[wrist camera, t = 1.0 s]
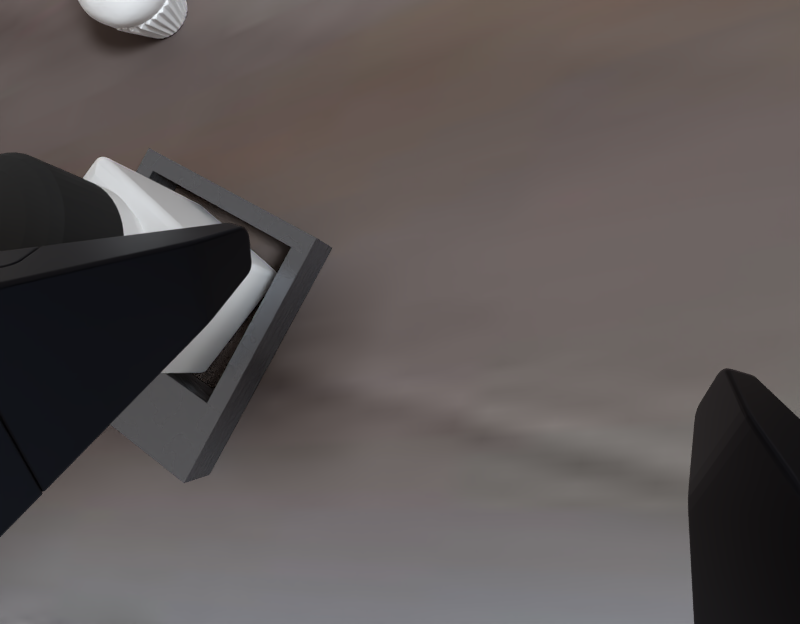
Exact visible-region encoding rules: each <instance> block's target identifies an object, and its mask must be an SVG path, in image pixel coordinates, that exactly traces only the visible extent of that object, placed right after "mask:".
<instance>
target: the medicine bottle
mask: <svg viewBox="0 0 800 624" xmlns="http://www.w3.org/2000/svg"><path fill="white" fill-rule="evenodd" d="M220 223H221V222H220V221H219V220H217V219H216V218H215V217H214V216H213V215H212V214H211V213H210V212H208V211H207V210H206V209H205V208H204V207H203V206H202V205H200V204H198V203H196V202H194V201H192V200H190V199H188V198H186V197H184V196H182V195H180V194H178V193H176V192H174V191H172V190H170V189H168V188H166V187H164V186H162V185H160V184H159V183H157V182H155V181H153V180H151V179H149V178H147V177H145V176H143V175H141V174H139V173H137V172H135V171H133V170H131V169H129V168H127V167H125V166H123V165H121V164H119V163H117V162H115V161H113V160H111V159H109V158H106V157H99V158H98V159H97V160H96V161H95V162H94V163H93V165H92V166H91V168H90V169H89V170H88V172H87V173H86V175H85V176H84V177H83V178H80V177H78V176H76V175H73V174H71V173H69V172H66V171H64V170H62V169H60V168H57V167H55V166H53V165H50V164H48V163H46V162H43V161H41V160H39V159H36V158H34V157H31V156H29V155H26V154H22V153H4V154H0V251H7V250H15V249H23V248H31V247H39V248H40V247H42V246H47V245H55V244H63V243H71V242H79V241H87V240H95V239H102V238H110V237H118V236H126V235H134V234H142V233H150V232H157V231H165V230H173V229H181V228H189V227H197V226H205V225H212V224H220ZM250 250H251V249H250ZM251 259H252V266H251V270H250V272H249V274H248V275H247V277H246V278H245V279H244V280H243V282H242V283H241V284H240V285H239V287H238V288H237V289H236V290H235V292H234V293H233V294H232V295H231V297H230V298H229V299H228V300H227V302H226V303H225V304H224V305H223V307H222V308H221V309H220V310H219V312H218V313H217V314H216V315H215V317H214V318H213V319H212V320H211V321H210V323H209V324H208V325H207V326H206V327H205V328H204V329H203V330H202V331H201V332H200V333H199V334H198V335H197V336H196V337H195V338H194V339H193V340H192V341H191V342H190V344H189V345H188V346H187V347H186V348H185V349H184V350H183V351H182V352H181V353H180V354H179V355H178V356H177V357H176V358H175V359H174V360H173V361H172V362H171V363H170V364H169V365H168V366H167V367H166V368H165V369H164V370H163V371H162V372H161V373H203V372H205V371H206V370H207V369H208V368H209V366H210V365H211V364H212V363H213V361H214V360H215V359H216V357H217V356H218V355H219V353H220V352H221V351H222V350H223V348H224V347H225V346H226V344H227V343H228V342H229V340H230V339H231V338H232V337H233V335H234V334H235V333H236V331H237V330H238V329H239V327H240V326H241V325H242V324H243V322H244V321H245V320H246V318H247V317H248V316H249V314H250V313H251V312H252V311H253V309H254V308H255V307H256V305H257V304H258V303H259V301H260V300H261V299H262V298H263V296H264V295H265V294H266V292H267V291H268V289H269V288H270V286H271V284H272V282H273V280H274V278H275V276H276V275H277V273H276V271H275V270H274V269H273V268H272V267H271V266H269V265H268V264H267V263H266V262H265V261H264V260H263V259H261V258H260V257H259V256H258V255H257V254H256V253H255V252H254V251H252V250H251Z"/></svg>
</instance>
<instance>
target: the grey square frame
mask: <svg viewBox="0 0 800 624" xmlns="http://www.w3.org/2000/svg"><path fill="white" fill-rule="evenodd" d="M137 173H139V174H141V175H143V176H145V177H147V178H149V179H151V180H153V181H155V182H157V183H159V184H160V185H162V186H164V187H166V188H168V189H170V190H172V191H174V190H175V188H176V186H177V184H178V185H180V186H182V187H184V188H185V189H187V190H189V191H191V192H193V193H194V194H196V195H198V196H200V197H202V198H203V199H205V200H207V201H209V202H211V203H212V204H214V205H216V206H218V207H220V208H221V209H223V210H225V211H227V212H229V213H231V214H232V215H234V216H236V217H238V218H240V219H241V220H243V221H245V222H247V223H249V224H250V225H252V226H254V227H256V228H258V229H259V230H261V231H263V232H265V233H267V234H268V235H270V236H272V237H274V238H276V239H277V240H279V241H281V242H283V243H285V244H286V245H288V246H290V247H291V249H290V250H289V252H288V254H287V256H286V258H285V260H284V262H283V263H282V265H281V267H280V269H279V271H278V273H277V275H276V276H275V278H274V280H273V282H272V284H271V286H270V288H269V289H268V291H267V293H266V295H265V297H264V299H263V300H262V302H261V304H260V306H259V308H258V310H257V312H256V313H255V315H254V317H253V319H252V321H251V323H250V325H249V326H248V328H247V330H246V332H245V334H244V336H243V337H242V339H241V341H240V343H239V345H238V347H237V349H236V350H235V352H234V354H233V356H232V358H231V360H230V362H229V363H228V365H227V367H226V369H225V371H224V373H223V375H222V376H221V378H220V380H219V382H218V384H217V386H216V387H215V389H213V388H211V387H210V386H208V385H207V384H205V383H204V382H203V381H201V380H200V379H198V378H197V377H195V376H194V375H193V374H191V373H160V374H159V375H158V376H157V377H156V378H155V379H154V380H153V381H152V382H151V383H150V384H149V385H148V386H147V387H146V388H145V389H144V390H143V391H142V392H141V393H140V394H139V395H138V396H137V398H136V399H135V400H134V401H133V402H132V403H131V404H130V405H129V406H128V407H127V408H126V409H125V410H124V411H123V412H122V413H121V414H120V415H119V416H118V417H117V418H116V419H115V420H114V421H113V422H112V423H111V424H110V425H111V426H113V427H114V428H115V429H116V430H118V431H119V432H120V433H122V434H123V435H124V436H125V437H127V438H128V439H129V440H130V441H132V442H133V443H134V444H135V445H137V446H138V447H139V448H140V449H142V450H143V451H144V452H145V453H147V454H148V455H149V456H151V457H152V458H153V459H154V460H156V461H157V462H158V463H159V464H161V465H162V466H163V467H164V468H166V469H167V470H168V471H169V472H171V473H172V474H173V475H174V476H176V477H177V478H178V479H180V480H181V481H182V482H183V483H185V482H189V481H192V480H195V479H198V478H201V477H204V476H207V475H209V474H210V472H211V470H212V469H213V467H214V465H215V463H216V461H217V459H218V458H219V456H220V454H221V452H222V450H223V448H224V446H225V445H226V443H227V441H228V439H229V437H230V435H231V434H232V432H233V430H234V428H235V426H236V424H237V423H238V421H239V419H240V417H241V415H242V413H243V411H244V410H245V408H246V406H247V404H248V402H249V400H250V399H251V397H252V395H253V393H254V391H255V389H256V387H257V386H258V384H259V382H260V380H261V378H262V376H263V375H264V373H265V371H266V369H267V367H268V365H269V364H270V362H271V360H272V358H273V356H274V354H275V352H276V351H277V349H278V347H279V345H280V343H281V341H282V340H283V338H284V336H285V334H286V332H287V330H288V328H289V327H290V325H291V323H292V321H293V319H294V317H295V316H296V314H297V312H298V310H299V308H300V306H301V305H302V303H303V301H304V299H305V297H306V295H307V293H308V292H309V290H310V288H311V286H312V284H313V282H314V281H315V279H316V277H317V275H318V273H319V271H320V269H321V268H322V266H323V264H324V262H325V260H326V258H327V257H328V255H329V253H330V251H331V249H332V247H330V246H328V245H327V244H325V243H324V242H322V241H320V240H319V239H317V238H315V237H314V236H312V235H310V234H308V233H306V232H304V231H302V230H300V229H299V228H297V227H295V226H293V225H291V224H289V223H287V222H286V221H284V220H282V219H280V218H278V217H276V216H274V215H273V214H271V213H269V212H267V211H265V210H263V209H261V208H260V207H258V206H256V205H254V204H252V203H250V202H248V201H246V200H245V199H243V198H241V197H239V196H237V195H235V194H233V193H232V192H230V191H228V190H226V189H224V188H222V187H220V186H219V185H217V184H215V183H213V182H211V181H209V180H207V179H206V178H204V177H202V176H200V175H198V174H196V173H194V172H192V171H191V170H189V169H187V168H185V167H183V166H181V165H179V164H178V163H176V162H174V161H172V160H170V159H168V158H166V157H165V156H163V155H161V154H159V153H157V152H155V151H153V150H152V149H150V148H149V149H148V151H147V153H146V155H145V156H144V158H143V160H142V162H141V164H140V166H139V168H138V170H137Z"/></svg>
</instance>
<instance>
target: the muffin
mask: <svg viewBox="0 0 800 624" xmlns="http://www.w3.org/2000/svg"><path fill="white" fill-rule="evenodd" d="M78 1H79V3H80V5H81V6H82V8H83V9H84V10H85V12H86V13H87V14H88V15H89V16H91V17H92V18H93V19H95V20H97V21H98V22H100V23H102V24H105V25H108V26H111V27H113V28H116V29H117V30H118V31H123V32H128V33H132V34H137V35H142V36H147V37H152V38H156V39H160V38H161V39H164V38H165V37H169V36H170V35H173V34H174V33H176V32H177V30H178V29H180V27H181V26H182V25H183V22H184V21H185V17H186V16H187V14H186V12H187V2H186V0H78Z"/></svg>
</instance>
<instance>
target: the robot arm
mask: <svg viewBox="0 0 800 624" xmlns="http://www.w3.org/2000/svg"><path fill="white" fill-rule="evenodd" d="M251 266H252V259H251V250H250V241H249V233H248V231H247V230H246V229H245V228H244V227H242V226H239V225H235V224H232V223H220V224H212V225H205V226H197V227H189V228H181V229H173V230H165V231H157V232H150V233H142V234H134V235H126V236H118V237H110V238H102V239H95V240H87V241H79V242H71V243H63V244H55V245H47V246H42V247H40V248H39V247H31V248H23V249H15V250H7V251H0V537H1V536H2V535H3V534H4V533H5V532H6V531H7V530H8V529H9V528H10V526H11V525H12V524H13V523H14V522H15V521H16V520H17V519H18V518H19V517H20V516H21V515H22V514H23V513H24V512H25V511H26V510H27V509H28V508H29V507H30V506H31V505H32V504H33V503H34V502H35V501H36V500H37V499H38V498H39V497H40V496H41V495H42V491H45V490H46V489H47V488H48V487H49V486H50V485H51V484H52V483H53V482H54V481H55V480H56V479H57V478H58V477H59V476H60V475H61V474H62V473H63V472H64V471H65V470H66V469H67V468H68V467H69V466H70V465H71V464H72V463H73V462H74V461H75V460H76V459H77V458H78V457H79V456H80V455H81V454H82V453H83V452H84V451H85V449H86V448H87V447H88V446H89V445H90V444H91V443H92V442H93V441H94V440H95V439H96V438H97V437H98V436H99V435H100V434H101V433H102V432H103V431H104V430H105V429H106V428H107V427H108V426H109V425H110V424H111V423H112V422H113V421H114V420H115V419H116V418H117V417H118V416H119V415H120V414H121V413H122V412H123V411H124V410H125V409H126V408H127V407H128V406H129V405H130V404H131V403H132V402H133V401H134V400H135V399H136V398H137V396H138V395H139V394H140V393H141V392H142V391H143V390H144V389H145V388H146V387H147V386H148V385H149V384H150V383H151V382H152V381H153V380H154V379H155V378H156V377H157V376H158V375H159V374H160V373H161V372H162V371H163V370H164V369H165V368H166V367H167V366H168V365H169V364H170V363H171V362H172V361H173V360H174V359H175V358H176V357H177V356H178V355H179V354H180V353H181V352H182V351H183V350H184V349H185V348H186V347H187V346H188V345H189V344H190V342H191V341H192V340H193V339H194V338H195V337H196V336H197V335H198V334H199V333H200V332H201V331H202V330H203V329H204V328H205V327H206V326H207V325H208V324H209V323H210V321H211V320H212V319H213V318H214V317H215V315H216V314H217V313H218V312H219V310H220V309H221V308H222V307H223V305H224V304H225V303H226V302H227V300H228V299H229V298H230V297H231V295H232V294H233V293H234V292H235V290H236V289H237V288H238V287H239V285H240V284H241V283H242V282H243V280H244V279H245V278H246V277H247V275H248V274H249V272H250V270H251ZM688 517H689V535H690V554H691V573H692V592H693V611H694V624H800V419H799V418H798V417H797V416H796V415H795V414H794V413H793V412H792V411H791V410H790V409H789V408H787V407H786V406H785V405H784V404H783V403H782V402H781V401H780V400H779V399H778V398H777V397H776V396H775V395H774V394H773V393H772V392H771V391H770V390H769V389H767V388H766V387H765V386H764V385H763V384H762V383H761V382H760V381H759V380H758V379H757V378H756V377H755V376H752V375H750V374H747V373H743V372H740V371H736V370H733V369H728V368H726V369H723V370H722V371H720V372H719V373H718V375H717V376H716V378H715V380H714V381H713V383H712V384H711V386H710V388H709V389H708V391H707V392H706V394H705V396H704V397H703V399H702V401H701V402H700V404H699V406H698V408H697V411H696V415H695V422H694V433H693V444H692V456H691V467H690V478H689V491H688Z"/></svg>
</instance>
